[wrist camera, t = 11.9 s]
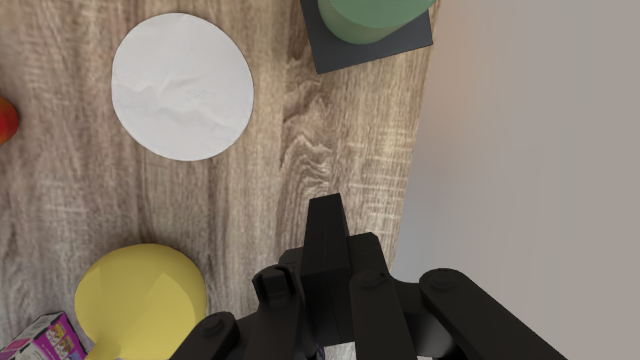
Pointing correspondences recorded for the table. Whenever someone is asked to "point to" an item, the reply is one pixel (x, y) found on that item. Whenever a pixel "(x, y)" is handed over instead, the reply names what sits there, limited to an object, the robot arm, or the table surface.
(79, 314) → the vase
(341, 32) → the tin
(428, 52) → the table surface
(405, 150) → the table surface
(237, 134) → the plaque
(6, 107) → the apple
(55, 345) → the candy bar box
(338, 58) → the riser
